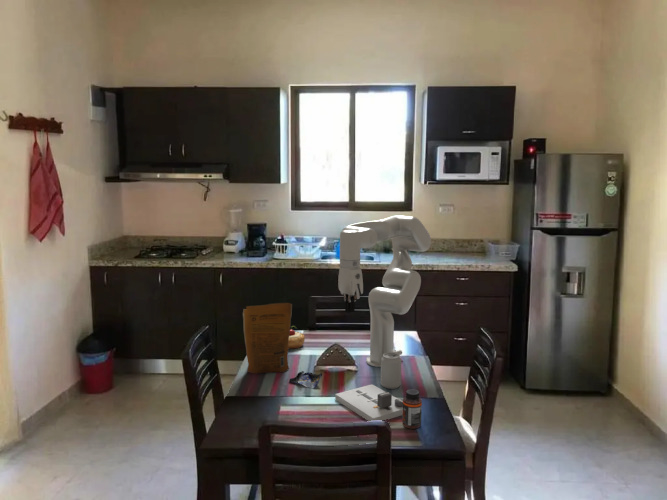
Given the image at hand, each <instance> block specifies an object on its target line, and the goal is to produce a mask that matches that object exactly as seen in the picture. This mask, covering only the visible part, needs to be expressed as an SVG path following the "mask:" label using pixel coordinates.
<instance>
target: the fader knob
mask: <svg viewBox="0 0 667 500" xmlns="http://www.w3.org/2000/svg"><path fill="white" fill-rule="evenodd" d="M392 396H393V395H392V393H390V392H388V391H385V393H381V394H378V404H377V406H379V407H380V408H385V407H389V406H391V404H392Z"/></svg>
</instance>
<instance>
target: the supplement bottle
mask: <svg viewBox="0 0 667 500" xmlns="http://www.w3.org/2000/svg"><path fill="white" fill-rule="evenodd" d="M405 393H406V394H405V396H404V397H403V398H402V399H403V415H402V425H403V426H404V427H405V428H407V429H418V428H420V427H421V426H422V413H423V412H422V411H423V409H422V408H423V400H422V398H421V397H420V390H417V389H412V388H411V389H410V388H409V389H407V390H406V391H405Z"/></svg>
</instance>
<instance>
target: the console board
mask: <svg viewBox="0 0 667 500" xmlns="http://www.w3.org/2000/svg"><path fill="white" fill-rule="evenodd" d="M385 392H386V391H385V390H383V389H381V388H379V387H378V386H376V385H374V384H368V385H364V386H359V387H356V388H353V389H349V390H345V391H341V392H339V393H335V394H334V395H335V396H334V397H335V399H334V400H335V401H337V402H338V403H340V404H341V405H343V406H345V407H346V408H348V409H349V410H351V411H353V412H354V413H355V414H357V415H358V416H360V417H361V416H362V417H361V418H363V419H364V418H365V419H364V420H366V421H367V420H368V422H369V421H371V420H385V421H387V420H386V419H388V420H391V419H394V418H397V417H400V416H403V398H398V397H395V396H394V395H392V404H391V406H389V407H385V408H380V407H379V406H377V404H378V394H381V393H385Z"/></svg>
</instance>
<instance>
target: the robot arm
mask: <svg viewBox="0 0 667 500" xmlns="http://www.w3.org/2000/svg"><path fill="white" fill-rule="evenodd" d="M390 239H391V244H392V251H393V254H392V255H393V257H392V260H391V262H390V264H389V265H388V267H387V269H386V271H385V273H384V275H383V277H382V281H381V283H382V286H383V287H381V286H377V287H374V288H372V289H371V290H370V292H369V293H368V306H369V313H370V330H369V331H370V333H369V334H370V335H369V336H370V337H369V338H370V340H369V341H370V342H369V344H370V345H369V351H370V353H369V356H367V357H366V363H367V365H369V366H371V367H375V368H381V358H382V357H383V354H385V353H397V354H399V355H400V356H402V355H403V350H402V349H399V350H396V349H394V339H395V338H394V335H395V333H394V332H395V331H394V330H395V321H394V317H393V314H396V315H405V314H406V313H408V312H409V310H410V308H411V306H412V305H413V303H414V301H415V299H416V297H417V295H418V293H419V291H420V288H421V284H422V278H421V275H420V273H419V271H418V272H417V271H416V270H413V269H412V265H413V262H412V259H411V256H410V254H409V253H408V251H410V252H411V251H412V252H419V253H420V252H422V253H424V252H427V251H428V250H429V249H430V247H431V245H432V238H431V235H430V233H429V232H428V230H427V228H426V227H425V225H424V224H423V222H422V221H421V220H420V219H419V218H417V217H416V216H411V215H402V214H401V215H400V214H399V215H398V214H397V215H391V216H388V217H385V218H382V219H378V220H369V221H365V222H363V221H362V222H356V223H353V224H349V225H346V226H344V227H343V228H342V230H341V231H340V233H339V269H338V270H339V271H338V285H337V286H338V290H339V291H340V294H341V295H342V296H343V301H344V309H345V310H344V312H346V313H348V314H349V313H354V312H355V305H356V304H355V302H357V300H359V299H361V297H360V295H363V293H364V282H363V273H362V272H363V271H362V268H361V249H371V248H373V247H374V246H375V245H377V242H386V241H388V240H390Z"/></svg>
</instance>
